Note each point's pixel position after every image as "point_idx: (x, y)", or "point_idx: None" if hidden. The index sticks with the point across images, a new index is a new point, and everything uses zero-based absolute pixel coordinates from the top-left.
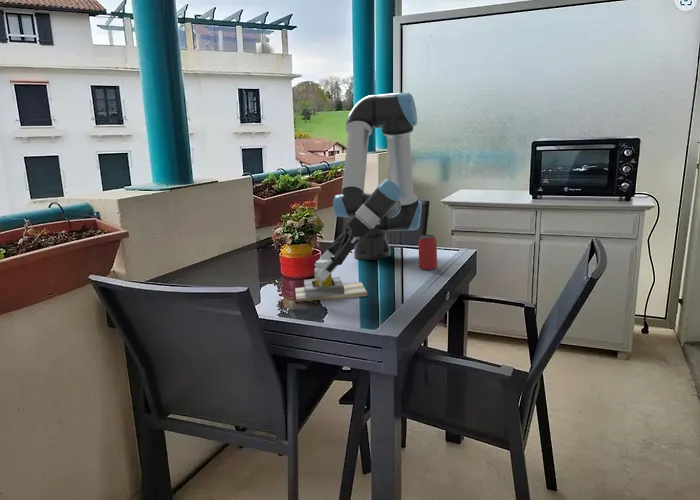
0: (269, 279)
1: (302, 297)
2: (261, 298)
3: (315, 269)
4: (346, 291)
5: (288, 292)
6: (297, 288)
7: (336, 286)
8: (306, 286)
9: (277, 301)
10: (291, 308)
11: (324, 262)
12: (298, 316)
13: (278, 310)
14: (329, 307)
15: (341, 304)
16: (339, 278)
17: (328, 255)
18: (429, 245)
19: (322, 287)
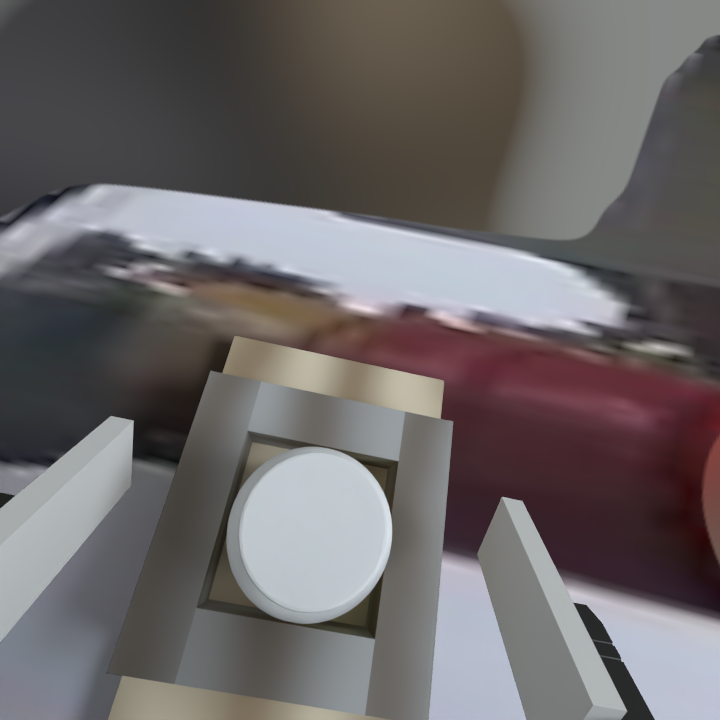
0: (700, 325)
1: (241, 371)
2: (397, 230)
3: (304, 451)
4: (191, 696)
5: (439, 353)
6: (430, 390)
7: (153, 606)
8: (292, 397)
9: (314, 275)
10: (163, 303)
11: (239, 539)
12: (14, 300)
13: (174, 249)
14: None
15: None
16: (373, 707)
17: (549, 690)
18: None
19: (201, 491)
